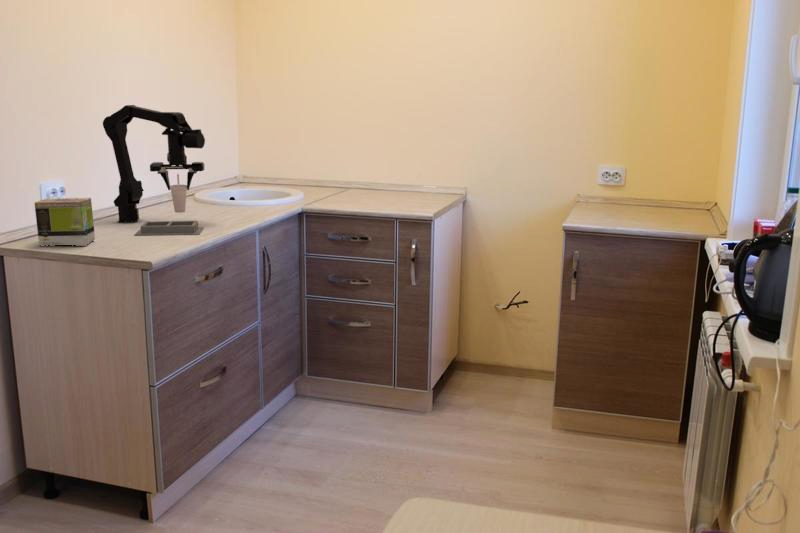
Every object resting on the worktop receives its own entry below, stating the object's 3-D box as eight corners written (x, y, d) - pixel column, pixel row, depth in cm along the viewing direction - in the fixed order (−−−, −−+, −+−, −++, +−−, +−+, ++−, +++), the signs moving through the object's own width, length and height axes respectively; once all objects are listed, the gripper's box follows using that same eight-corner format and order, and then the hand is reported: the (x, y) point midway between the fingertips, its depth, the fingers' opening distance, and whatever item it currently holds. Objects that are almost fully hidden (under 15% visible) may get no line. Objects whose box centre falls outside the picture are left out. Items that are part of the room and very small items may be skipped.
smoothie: (171, 213, 289) (168, 175, 285) (171, 210, 295) (168, 173, 291) (189, 212, 291) (187, 174, 287) (188, 210, 296) (186, 172, 293)
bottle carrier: (134, 235, 273) (133, 227, 272) (141, 228, 286) (141, 220, 285) (199, 234, 276) (198, 226, 275) (203, 227, 288) (203, 219, 287)
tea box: (95, 240, 265) (92, 197, 262) (85, 247, 255) (81, 201, 252) (50, 240, 265) (46, 196, 261) (38, 247, 255) (33, 201, 251)
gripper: (205, 145, 296) (207, 187, 300) (153, 145, 294) (156, 187, 297) (201, 148, 285) (203, 191, 289) (148, 148, 283) (151, 191, 287)
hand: (178, 190), depth 291 cm, fingers closed on smoothie, 6 cm apart
